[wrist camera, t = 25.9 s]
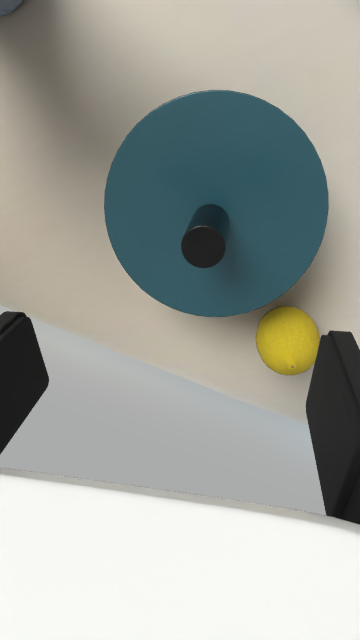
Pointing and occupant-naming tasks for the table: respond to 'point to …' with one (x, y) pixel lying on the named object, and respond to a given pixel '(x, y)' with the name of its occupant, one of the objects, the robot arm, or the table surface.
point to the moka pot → (8, 6)
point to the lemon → (287, 340)
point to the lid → (216, 203)
